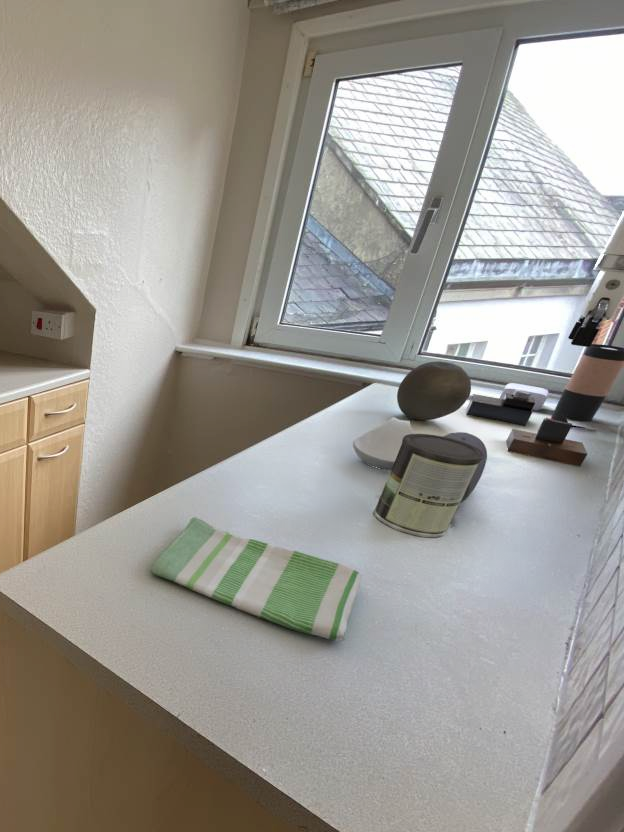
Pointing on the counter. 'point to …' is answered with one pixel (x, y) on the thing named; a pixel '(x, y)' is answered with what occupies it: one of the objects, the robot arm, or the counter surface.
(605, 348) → the travel mug
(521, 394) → the toaster lever
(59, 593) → the counter surface
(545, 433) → the browning knob
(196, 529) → the dish towel
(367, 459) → the spoon rest
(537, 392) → the charger
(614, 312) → the robot arm
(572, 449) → the brown wooden block
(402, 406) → the dark brown rounded piece
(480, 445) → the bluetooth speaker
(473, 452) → the coffee can
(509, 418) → the toaster
